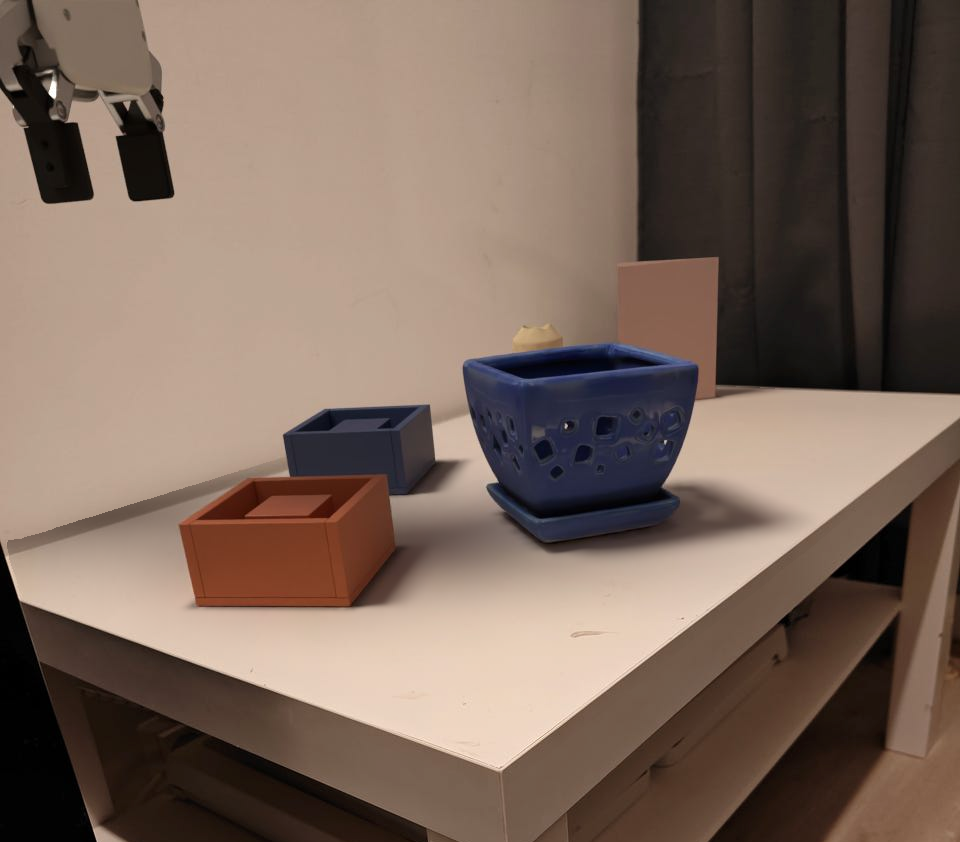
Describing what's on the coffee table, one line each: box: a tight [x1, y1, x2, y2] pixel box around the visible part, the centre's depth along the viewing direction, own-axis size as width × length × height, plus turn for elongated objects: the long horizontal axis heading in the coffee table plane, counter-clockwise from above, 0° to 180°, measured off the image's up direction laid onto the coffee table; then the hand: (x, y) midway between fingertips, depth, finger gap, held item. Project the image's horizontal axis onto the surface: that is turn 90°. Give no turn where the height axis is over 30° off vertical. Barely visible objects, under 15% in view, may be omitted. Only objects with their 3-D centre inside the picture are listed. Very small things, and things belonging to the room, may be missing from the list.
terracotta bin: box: [178, 474, 397, 607], centre depth 63 cm, size 11×11×6 cm
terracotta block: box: [245, 495, 335, 519], centre depth 63 cm, size 4×4×4 cm
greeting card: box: [616, 256, 720, 400], centre depth 105 cm, size 11×7×15 cm, turn 65°
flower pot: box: [462, 342, 699, 544], centre depth 68 cm, size 13×13×12 cm
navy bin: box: [282, 404, 437, 496], centre depth 86 cm, size 11×11×6 cm
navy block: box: [329, 418, 392, 431], centre depth 86 cm, size 4×4×4 cm
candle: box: [511, 323, 564, 353], centre depth 103 cm, size 6×6×10 cm
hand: (113, 200), depth 59 cm, fingers open, 9 cm apart
